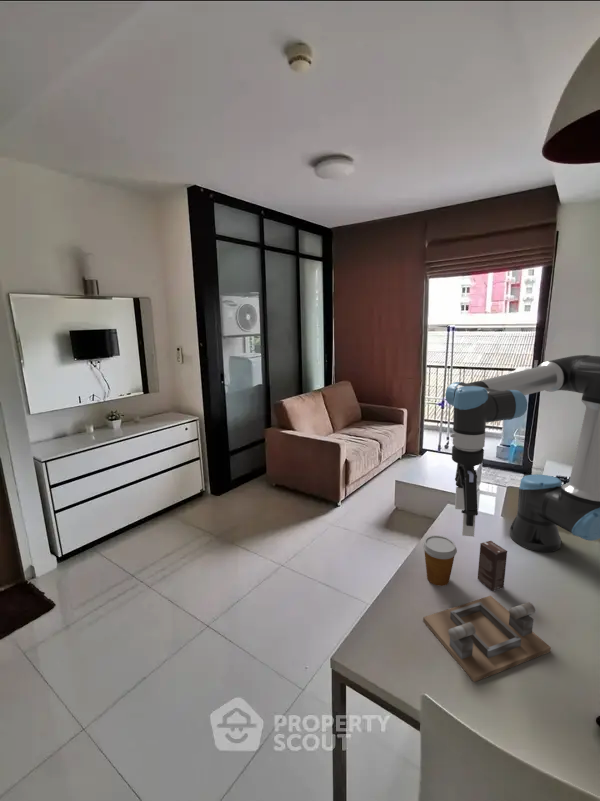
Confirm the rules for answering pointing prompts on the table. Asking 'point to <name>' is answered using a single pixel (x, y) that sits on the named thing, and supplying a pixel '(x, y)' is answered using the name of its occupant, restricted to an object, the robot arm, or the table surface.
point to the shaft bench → (487, 636)
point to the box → (492, 565)
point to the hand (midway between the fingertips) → (463, 521)
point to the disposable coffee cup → (439, 559)
